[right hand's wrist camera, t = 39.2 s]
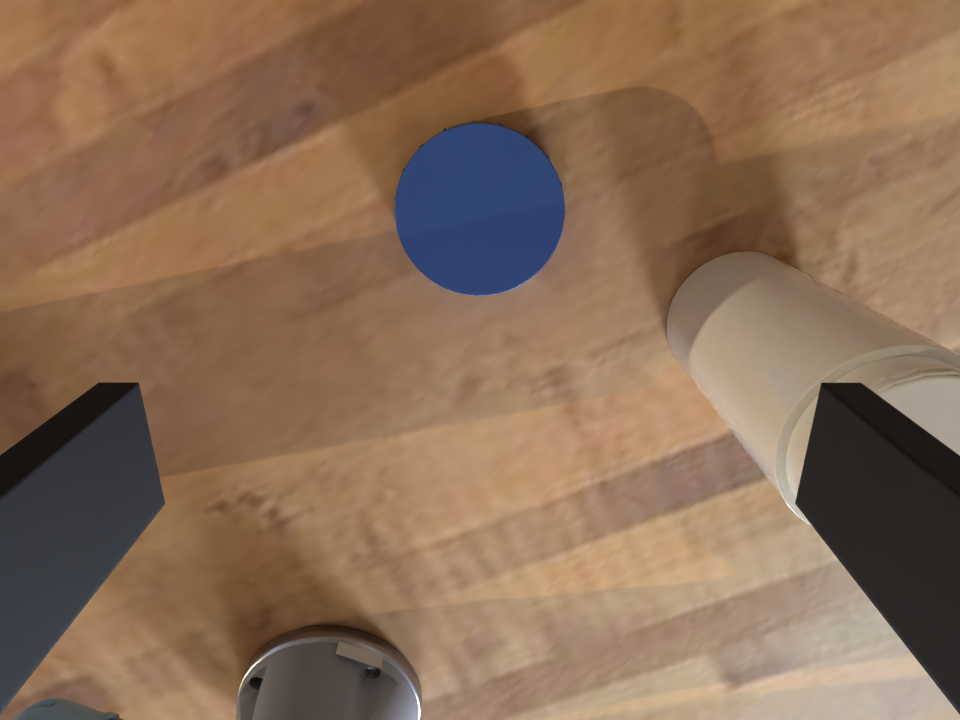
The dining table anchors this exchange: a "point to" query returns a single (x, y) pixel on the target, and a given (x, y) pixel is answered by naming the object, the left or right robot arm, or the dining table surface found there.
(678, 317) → the jar
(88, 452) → the right robot arm
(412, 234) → the lid
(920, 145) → the dining table surface
